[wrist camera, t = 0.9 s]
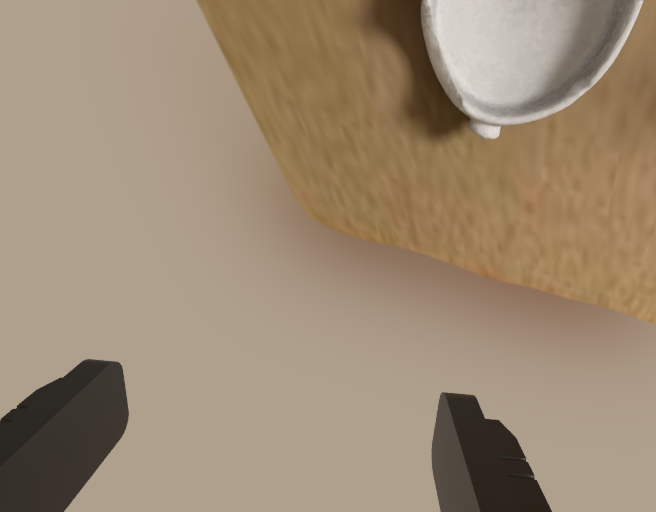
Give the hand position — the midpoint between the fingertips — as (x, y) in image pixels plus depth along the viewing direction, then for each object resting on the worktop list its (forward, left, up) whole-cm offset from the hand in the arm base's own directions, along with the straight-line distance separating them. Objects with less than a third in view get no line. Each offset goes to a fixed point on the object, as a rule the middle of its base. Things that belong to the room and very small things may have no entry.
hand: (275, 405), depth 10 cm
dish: (-7, +11, -30) cm, 33 cm away
